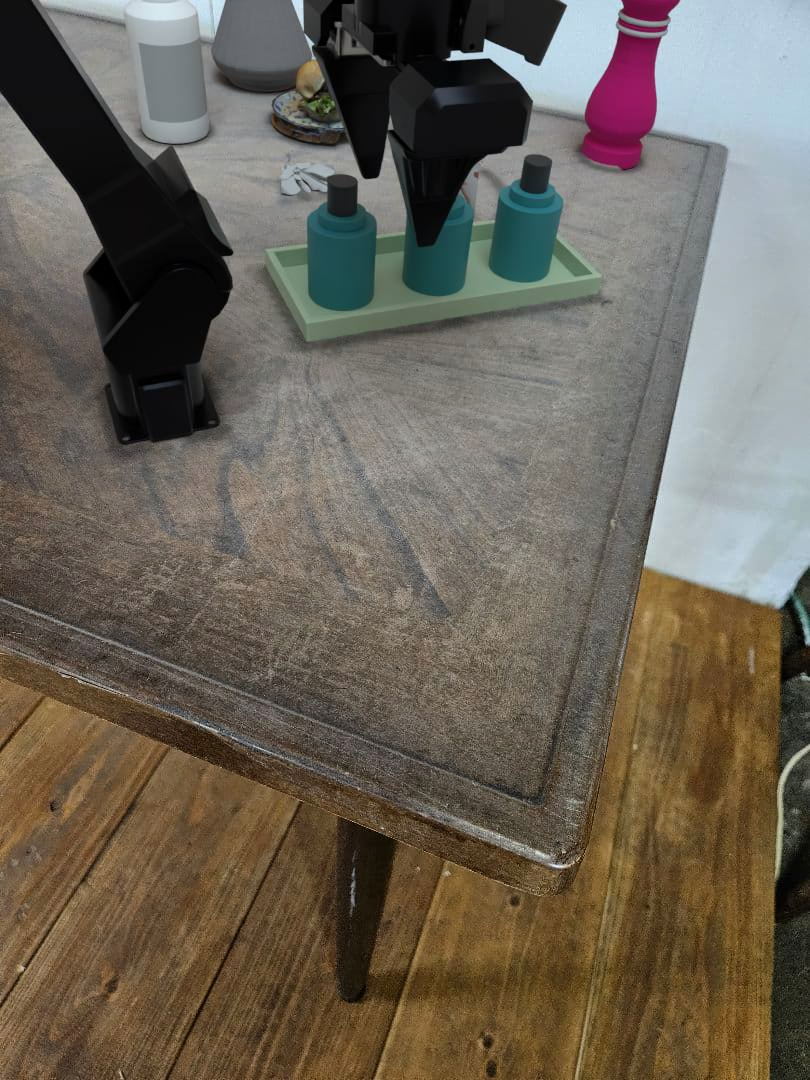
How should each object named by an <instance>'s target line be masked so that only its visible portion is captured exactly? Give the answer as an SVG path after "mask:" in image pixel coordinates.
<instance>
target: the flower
mask: <svg viewBox="0 0 810 1080" xmlns="http://www.w3.org/2000/svg"><path fill="white" fill-rule="evenodd" d="M292 152H294V150H293V149H291V150H289V151H288V152H287V153H285V155H286V157H287V160H286V161H285V162H284V165H283V167H281V168H280V171H281V174H280V175H279V176H278V179H280V193H281V194H285V195H290V196H291V195H293V196H294V195H297V194H299V193H300V192H301V191H302V189H303V190H304V191H305V192H306V193H309V194H311V192H312V191H311V190H313V191H319V192H321V193H327V179H328V178H329V177H330V176H332V175H335V172H336V170H335V167H334V165H333V164H321V163H313V162H310V161H307V162H297V161H294V164H290V162H291V160H292V159H291V157H292ZM297 183H298V184H299V185H301V187H302V189H301V188H300V187H299V185H298V184H297Z"/></svg>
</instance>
